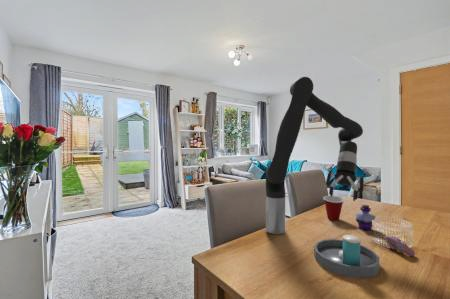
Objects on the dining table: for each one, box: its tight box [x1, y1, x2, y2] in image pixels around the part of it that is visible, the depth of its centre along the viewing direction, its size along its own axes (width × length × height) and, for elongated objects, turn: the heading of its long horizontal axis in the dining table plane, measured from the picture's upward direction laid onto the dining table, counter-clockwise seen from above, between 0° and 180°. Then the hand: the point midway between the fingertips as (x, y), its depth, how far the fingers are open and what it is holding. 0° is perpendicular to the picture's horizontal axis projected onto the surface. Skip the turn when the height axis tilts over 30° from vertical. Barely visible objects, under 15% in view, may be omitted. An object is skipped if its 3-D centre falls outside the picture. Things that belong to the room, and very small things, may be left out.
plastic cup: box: [322, 195, 345, 222], centre depth 126 cm, size 11×11×12 cm
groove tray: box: [313, 238, 380, 279], centre depth 82 cm, size 21×21×4 cm
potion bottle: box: [355, 204, 376, 232], centre depth 112 cm, size 9×9×12 cm
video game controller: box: [382, 234, 416, 257], centre depth 89 cm, size 10×5×7 cm, turn 6°
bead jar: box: [342, 234, 362, 266], centre depth 76 cm, size 5×5×10 cm
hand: (342, 198), depth 95 cm, fingers open, 8 cm apart
